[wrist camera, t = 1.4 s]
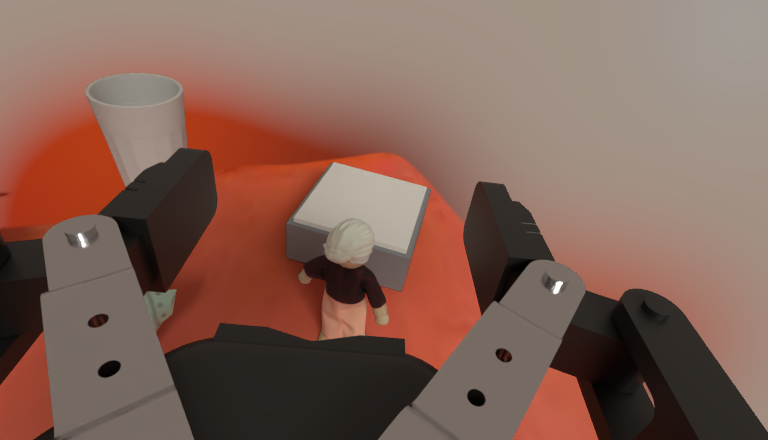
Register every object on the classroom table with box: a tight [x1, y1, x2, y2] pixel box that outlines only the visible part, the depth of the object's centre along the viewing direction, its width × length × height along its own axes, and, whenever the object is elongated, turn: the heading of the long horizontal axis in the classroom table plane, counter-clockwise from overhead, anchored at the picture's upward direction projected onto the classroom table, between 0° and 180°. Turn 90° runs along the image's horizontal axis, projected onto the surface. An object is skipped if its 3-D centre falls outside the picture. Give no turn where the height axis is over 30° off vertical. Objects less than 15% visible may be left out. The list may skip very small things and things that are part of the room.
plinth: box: [286, 162, 431, 292], centre depth 43 cm, size 12×12×5 cm
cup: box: [85, 73, 187, 187], centre depth 42 cm, size 8×8×12 cm
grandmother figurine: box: [298, 218, 389, 341], centre depth 30 cm, size 8×4×13 cm, turn 74°
